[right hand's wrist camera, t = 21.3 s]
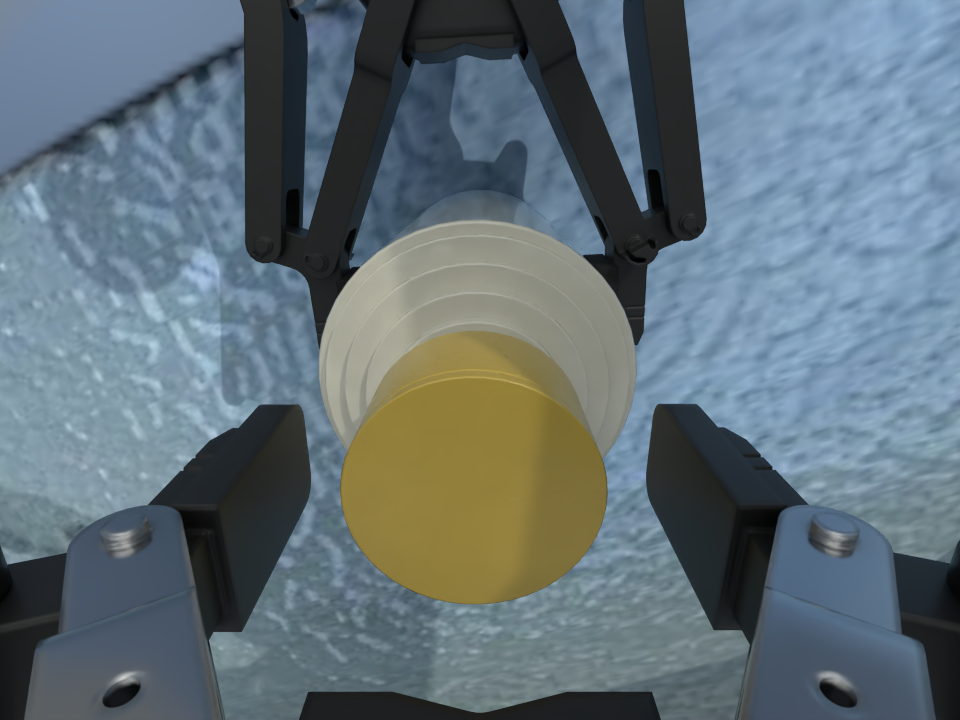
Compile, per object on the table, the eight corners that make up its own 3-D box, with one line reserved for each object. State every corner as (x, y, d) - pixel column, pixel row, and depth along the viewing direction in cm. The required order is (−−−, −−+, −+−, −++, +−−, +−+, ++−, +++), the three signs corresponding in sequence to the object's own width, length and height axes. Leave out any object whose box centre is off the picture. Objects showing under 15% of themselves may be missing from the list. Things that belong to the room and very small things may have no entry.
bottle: (518, 156, 25) (591, 149, 8) (592, 312, 27) (768, 561, 10) (364, 242, 26) (145, 393, 9) (447, 383, 29) (395, 705, 12)
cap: (413, 543, 13) (397, 629, 10) (334, 368, 11) (295, 423, 9) (605, 491, 12) (634, 570, 10) (550, 300, 11) (568, 340, 8)
